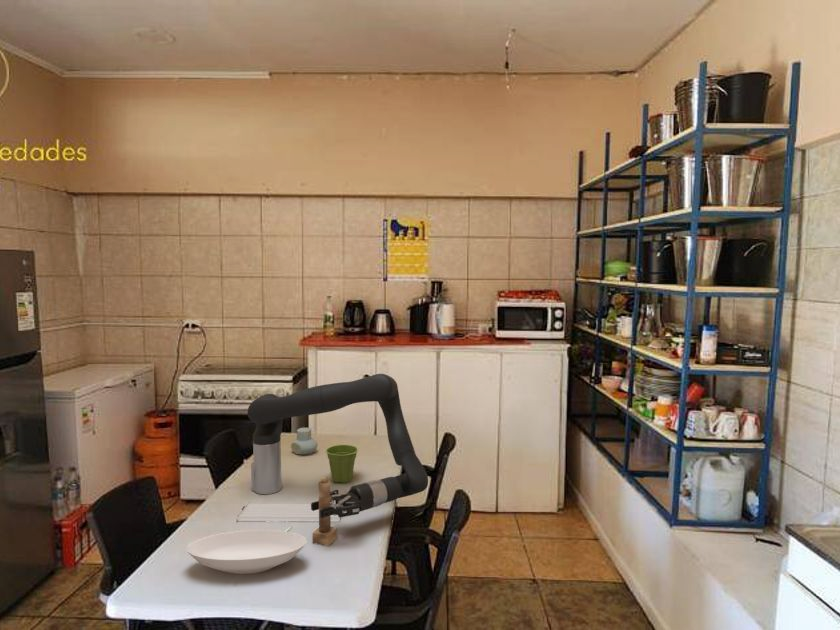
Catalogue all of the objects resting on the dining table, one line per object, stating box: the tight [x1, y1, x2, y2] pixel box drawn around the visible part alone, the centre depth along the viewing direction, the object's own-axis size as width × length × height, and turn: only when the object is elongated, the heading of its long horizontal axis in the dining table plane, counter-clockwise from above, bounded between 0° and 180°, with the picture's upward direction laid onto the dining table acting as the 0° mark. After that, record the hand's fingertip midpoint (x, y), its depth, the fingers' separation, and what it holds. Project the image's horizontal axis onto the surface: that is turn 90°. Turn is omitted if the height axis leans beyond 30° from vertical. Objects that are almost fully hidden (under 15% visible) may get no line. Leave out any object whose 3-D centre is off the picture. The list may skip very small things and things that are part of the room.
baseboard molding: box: [236, 503, 342, 523], centre depth 166 cm, size 31×3×12 cm
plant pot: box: [325, 444, 359, 484], centre depth 195 cm, size 12×12×11 cm
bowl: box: [186, 529, 307, 575], centre depth 137 cm, size 30×15×6 cm, turn 94°
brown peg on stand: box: [312, 476, 338, 547], centre depth 150 cm, size 5×5×18 cm
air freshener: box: [290, 427, 319, 456], centre depth 223 cm, size 11×8×10 cm
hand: (316, 510), depth 148 cm, fingers open, 5 cm apart
